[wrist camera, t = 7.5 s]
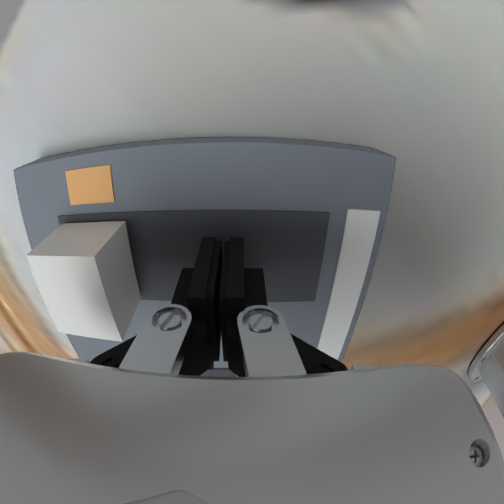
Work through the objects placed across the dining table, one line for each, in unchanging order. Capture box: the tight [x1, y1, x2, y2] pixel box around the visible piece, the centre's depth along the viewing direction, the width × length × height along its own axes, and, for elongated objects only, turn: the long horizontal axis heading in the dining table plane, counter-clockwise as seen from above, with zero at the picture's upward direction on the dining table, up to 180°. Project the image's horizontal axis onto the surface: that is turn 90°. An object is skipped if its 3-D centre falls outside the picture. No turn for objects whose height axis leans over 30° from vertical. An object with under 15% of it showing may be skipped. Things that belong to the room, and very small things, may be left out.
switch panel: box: [14, 137, 396, 377], centre depth 15 cm, size 18×20×3 cm
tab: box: [26, 221, 141, 342], centre depth 10 cm, size 4×4×3 cm
